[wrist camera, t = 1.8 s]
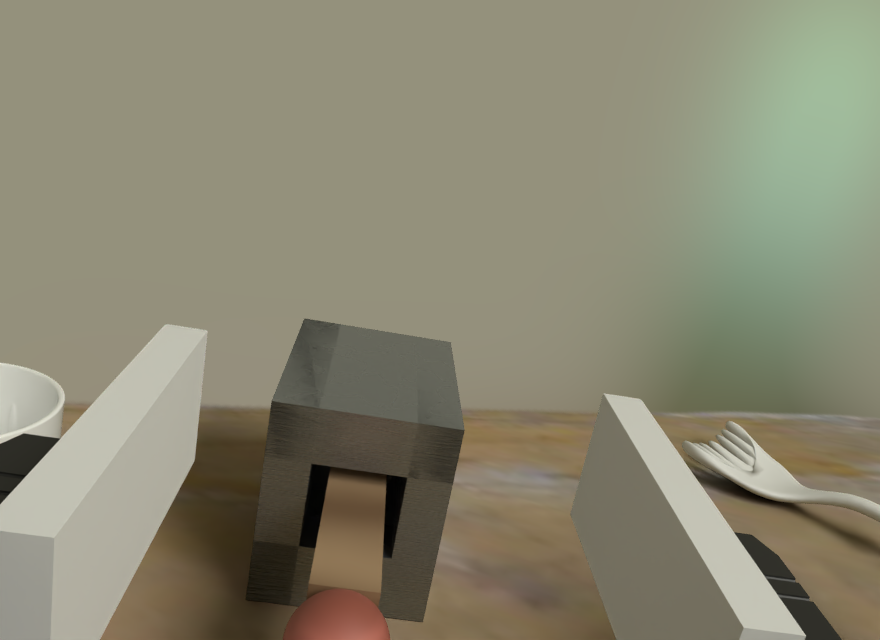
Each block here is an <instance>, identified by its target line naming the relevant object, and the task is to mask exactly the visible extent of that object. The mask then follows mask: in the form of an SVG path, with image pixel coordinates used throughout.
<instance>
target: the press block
mask: <svg viewBox="0 0 880 640" xmlns="http://www.w3.org/2000/svg"><path fill="white" fill-rule="evenodd" d="M463 435H464V424H463V417H462V411H461V405H460V399H459V393H458V386H457V380H456V374H455V367H454V361H453V354H452V348H451V343H450V342H446V341H439V340H433V339H426V338H421V337H415V336H409V335H402V334H396V333H390V332H384V331H378V330H372V329H366V328H359V327H353V326H346V325H341V324H335V323H328V322H322V321H316V320H310V319H304V321H303V324H302V326H301V329H300V331H299V334H298V336H297V339H296V341H295V344H294V346H293V349H292V352H291V354H290V356H289V359H288V362H287V364H286V366H285V369H284V372H283V374H282V377H281V379H280V382H279V384H278V387H277V389H276V392H275V394H274V397H273V399H272V403H271V411H270V418H269V426H268V434H267V441H266V449H265V456H264V464H263V472H262V479H261V487H260V495H259V502H258V510H257V518H256V525H255V533H254V540H253V548H252V556H251V563H250V571H249V579H248V586H247V594H246V600H253V601H261V602H269V603H277V604H285V605H293V606H300V605H301V604H302V603H303V602H304V601H306V598H307V592H308V586H309V580H310V575H311V569H312V564H313V559H314V553H315V548H316V543H317V537H318V532H319V527H320V521H321V516H322V511H323V505H324V500H325V495H326V489H327V484H328V478H329V473H330V468H331V467H338V468H345V469H352V470H359V471H366V472H373V473H380V474H387V477H386V498H385V519H384V540H383V561H382V582H381V595H380V600H379V606H378V608H379V610H380V611H381V613H382V615H383V616H384V617H388V618H396V619H404V620H412V621H419V622H423V619H424V614H425V609H426V605H427V600H428V596H429V591H430V586H431V582H432V577H433V573H434V568H435V564H436V559H437V554H438V550H439V545H440V541H441V536H442V531H443V527H444V522H445V518H446V513H447V508H448V504H449V499H450V495H451V490H452V485H453V481H454V476H455V472H456V467H457V462H458V458H459V453H460V449H461V444H462V439H463Z"/></svg>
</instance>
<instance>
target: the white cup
mask: <svg viewBox="0 0 880 640" xmlns="http://www.w3.org/2000/svg"><path fill="white" fill-rule="evenodd" d="M64 403H65V394H64V391H63V389H62V387H61V386H60V385H59V384H58V383H57V382H56V381H55V380H54V379H52V378H51V377H49V376H47V375H45V374H43V373H41V372H38V371H35V370H32V369H29V368H26V367H22V366H17V365H13V364H7V363H0V444H1V443H3V442H6V441H8V440H10V439H12V438H14V437H17V436H19V435H21V434H23V433H25V434H32V435H39V436H46V437H53V438H60V439H61V433H62V422H63V412H64Z"/></svg>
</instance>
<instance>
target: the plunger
mask: <svg viewBox="0 0 880 640" xmlns="http://www.w3.org/2000/svg"><path fill="white" fill-rule="evenodd" d="M386 477H387V474H380V473H373V472H366V471H359V470H352V469H345V468H338V467H331V468H330V473H329V478H328V484H327V489H326V495H325V500H324V505H323V511H322V516H321V521H320V527H319V532H318V537H317V543H316V548H315V553H314V559H313V564H312V569H311V575H310V580H309V586H308V592H307V598H306V601H304V602H303V603H302V604H301V605H300V606H299V607H298V608H297V609H296V611H295V612H294V613H293V615H292V616H291V618H290V620H289V622H288V624H287V626H286V629H285V632H284V636H283V640H390V635H389V630H388V626H387V623H386V621H385V618H384V616H383V615H382V613H381V611H380V610H379V608H378V606H379V600H380V595H381V582H382V561H383V540H384V519H385V498H386Z"/></svg>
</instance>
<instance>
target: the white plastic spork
mask: <svg viewBox="0 0 880 640" xmlns="http://www.w3.org/2000/svg"><path fill="white" fill-rule="evenodd" d="M726 429H727V430H728V431H727V430H724V429H723V430H721V431H722V434H723V436H724V437H725V438H724V437H722V436H720V435H716V438H717V440H718V441H719V443H720V444H721V445H722V446H720V445H719V444H717V443H715V442H713V441H709V445H710V447H711V448H710V447H709V446H707V445H706V444H703V443H699V444H696V443H691V442H688V441H684V442H683V443H682V447H683V450H684V451H685V452H686V453H687V454H688V455H689V456H691V457H692V458H693V459H695V460H696V461H698V462H699V463H701V464H703V465H704V466H706V467H708V468H709V469H711V470H713V471H715V472H716V473H718V474H720V475H722V476H724V477H726V478H727V479H729V480H731V481H732V482H734V483H736V484H737V485H739V486H741V487H743V488H744V489H746V490H748V491H750V492H752V493H754V494H756V495H759V496H761V497H764V498H767V499H771V500H775V501H781V502H789V503H805V504H823V505H833V506H838V507H844V508H848V509H851V510H854V511H857V512H860V513H862V514H864V515H866V516H868V517H870V518H872V519H874V520H876V521H878V522H880V505H879V504H876V503H874V502H872V501H869V500H867V499H865V498H861V497H858V496H855V495H851V494H846V493H840V492H830V491H820V490H814V489H809V488H806V487H804V486H802V485H801V484H800V483H798V482H797V481H796V480H795V479H794V477H793V476H792V475H791V474H790V473H789V472H788V471H787V470H786V469H785V468H784V467H783V466H782V465H780V464H779V463H778V462H777V461H775V460H774V459H773V458H772V457H770V456H769V455H768V454H767V453H766V452H765V451H764V450H763V449H762V448H761V447H760V446H759V445H758V444H757V443H756V442H755V441H754V440H753V439H752V437H751V436H750V435H749V434H748V433H747V432H746V431H745V430H743V429H742V428H741V427H740V426H739V425H737V424H736V423H734V422H730V421H729V422H727V423H726Z"/></svg>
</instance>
